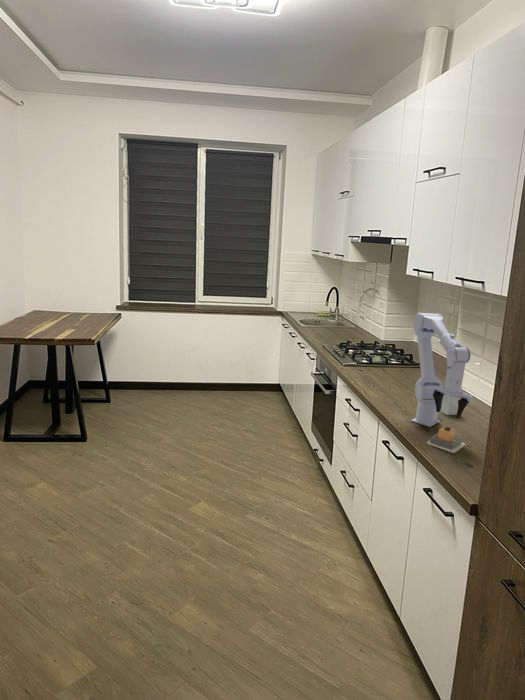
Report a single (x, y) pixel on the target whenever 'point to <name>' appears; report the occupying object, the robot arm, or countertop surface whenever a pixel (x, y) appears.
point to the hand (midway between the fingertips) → (448, 414)
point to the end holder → (446, 444)
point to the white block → (450, 404)
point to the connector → (446, 434)
